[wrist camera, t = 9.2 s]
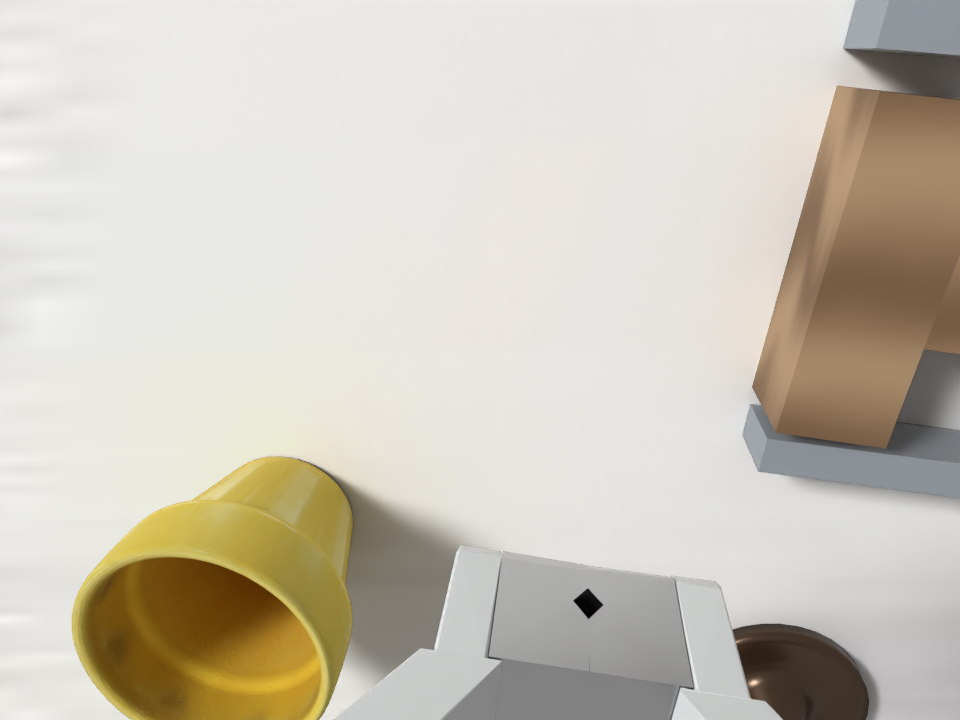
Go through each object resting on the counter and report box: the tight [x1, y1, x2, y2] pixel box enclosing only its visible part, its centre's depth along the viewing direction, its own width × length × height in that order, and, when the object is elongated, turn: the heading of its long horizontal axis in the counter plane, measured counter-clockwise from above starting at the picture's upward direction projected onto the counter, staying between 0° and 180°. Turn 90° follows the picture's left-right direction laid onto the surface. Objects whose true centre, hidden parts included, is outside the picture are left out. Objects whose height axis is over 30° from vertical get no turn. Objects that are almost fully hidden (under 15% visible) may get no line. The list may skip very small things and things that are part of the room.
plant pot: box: [72, 456, 353, 720], centre depth 32 cm, size 10×10×10 cm
